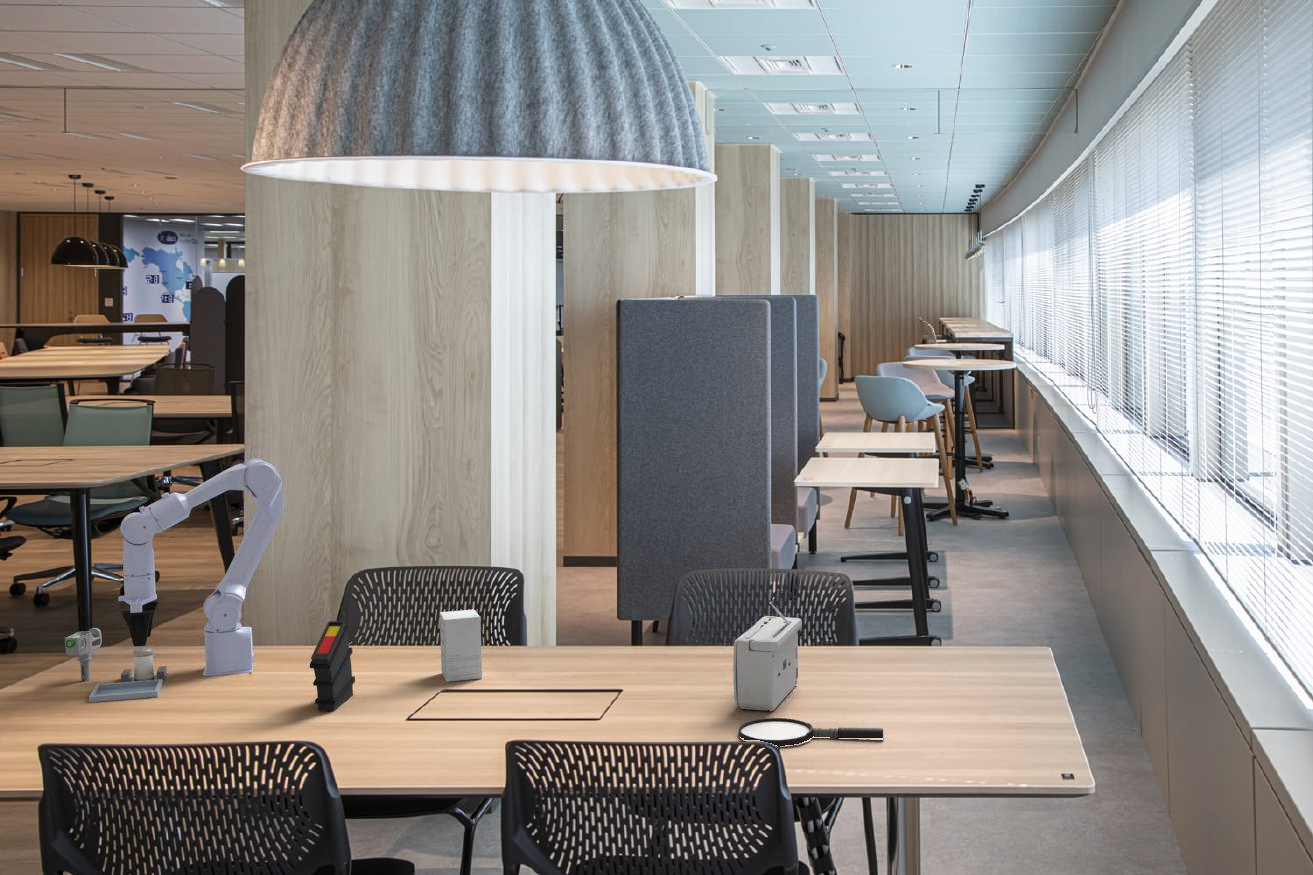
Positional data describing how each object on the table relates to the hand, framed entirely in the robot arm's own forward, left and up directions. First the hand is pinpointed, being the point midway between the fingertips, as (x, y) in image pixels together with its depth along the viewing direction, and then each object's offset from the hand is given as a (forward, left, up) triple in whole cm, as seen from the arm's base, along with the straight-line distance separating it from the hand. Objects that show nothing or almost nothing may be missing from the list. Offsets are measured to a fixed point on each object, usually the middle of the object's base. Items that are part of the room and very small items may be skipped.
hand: (142, 641), depth 254 cm
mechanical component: (+11, -3, -8) cm, 14 cm away
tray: (+2, +10, -8) cm, 13 cm away
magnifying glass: (-112, +73, -9) cm, 134 cm away
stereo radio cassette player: (-114, +49, -8) cm, 124 cm away
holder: (0, 0, -8) cm, 8 cm away
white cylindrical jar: (0, 0, -8) cm, 8 cm away
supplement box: (-61, +16, -8) cm, 64 cm away
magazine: (-36, +29, -8) cm, 47 cm away
